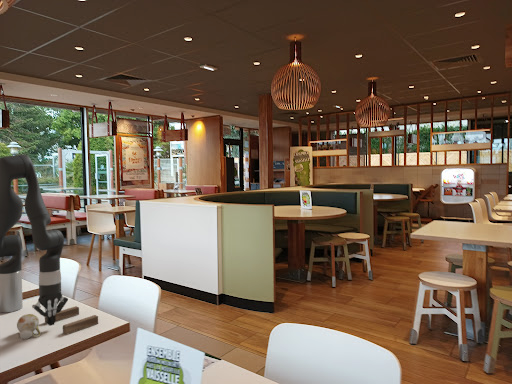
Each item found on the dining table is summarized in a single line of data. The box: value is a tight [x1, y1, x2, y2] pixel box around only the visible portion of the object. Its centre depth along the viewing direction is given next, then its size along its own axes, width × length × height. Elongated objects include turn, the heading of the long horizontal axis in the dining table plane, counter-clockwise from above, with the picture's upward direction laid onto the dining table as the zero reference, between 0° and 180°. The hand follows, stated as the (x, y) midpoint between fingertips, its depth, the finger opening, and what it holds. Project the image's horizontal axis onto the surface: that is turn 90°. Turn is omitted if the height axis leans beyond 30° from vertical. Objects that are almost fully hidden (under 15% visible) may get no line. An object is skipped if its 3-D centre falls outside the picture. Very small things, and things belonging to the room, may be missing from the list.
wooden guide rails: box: [44, 306, 99, 335], centre depth 150 cm, size 18×13×3 cm
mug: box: [16, 313, 42, 340], centre depth 140 cm, size 8×10×10 cm
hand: (51, 324), depth 144 cm, fingers closed
